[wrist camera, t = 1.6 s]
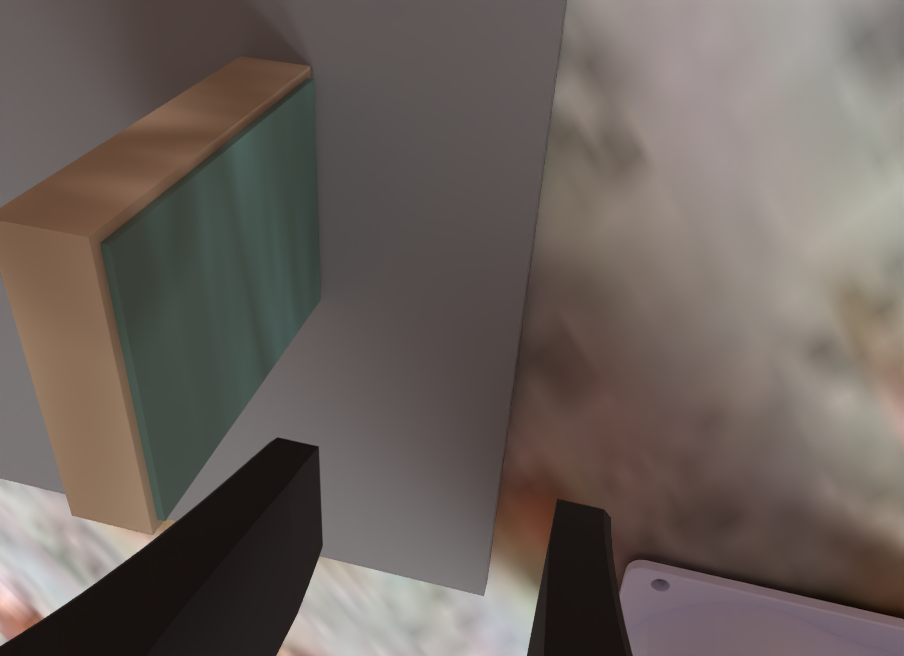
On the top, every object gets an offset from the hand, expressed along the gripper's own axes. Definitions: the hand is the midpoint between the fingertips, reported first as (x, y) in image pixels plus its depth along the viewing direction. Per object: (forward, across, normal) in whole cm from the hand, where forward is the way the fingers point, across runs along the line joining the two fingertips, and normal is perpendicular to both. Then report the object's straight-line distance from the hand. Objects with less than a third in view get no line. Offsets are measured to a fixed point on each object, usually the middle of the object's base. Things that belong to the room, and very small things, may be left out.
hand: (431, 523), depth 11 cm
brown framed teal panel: (+9, +6, 0) cm, 11 cm away
